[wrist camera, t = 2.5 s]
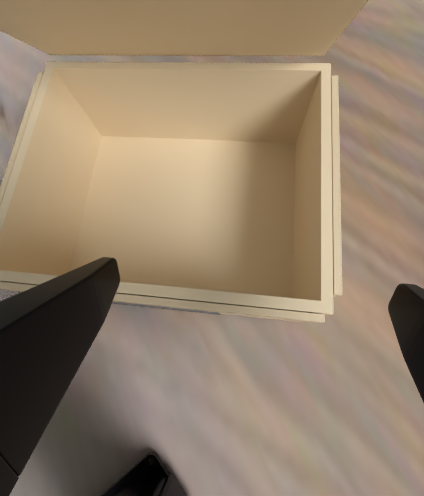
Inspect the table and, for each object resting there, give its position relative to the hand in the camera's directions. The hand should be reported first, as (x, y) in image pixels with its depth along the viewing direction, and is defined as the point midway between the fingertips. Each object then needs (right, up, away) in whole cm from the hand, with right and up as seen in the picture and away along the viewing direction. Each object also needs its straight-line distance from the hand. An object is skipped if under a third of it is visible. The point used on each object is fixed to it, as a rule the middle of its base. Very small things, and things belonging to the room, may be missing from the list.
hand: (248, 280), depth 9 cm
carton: (-4, +4, +15) cm, 16 cm away
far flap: (-4, +13, +5) cm, 14 cm away
